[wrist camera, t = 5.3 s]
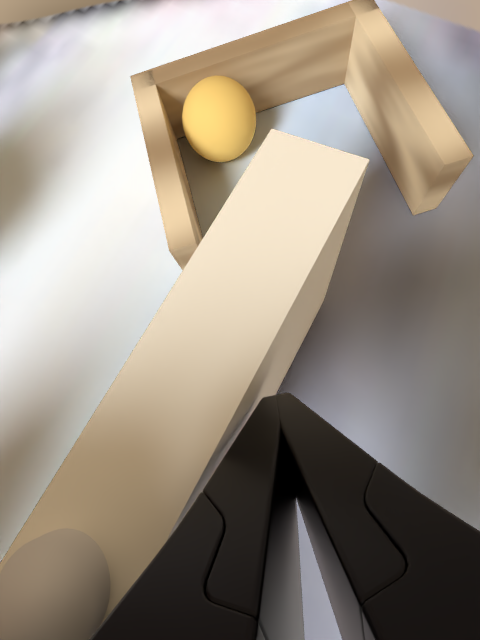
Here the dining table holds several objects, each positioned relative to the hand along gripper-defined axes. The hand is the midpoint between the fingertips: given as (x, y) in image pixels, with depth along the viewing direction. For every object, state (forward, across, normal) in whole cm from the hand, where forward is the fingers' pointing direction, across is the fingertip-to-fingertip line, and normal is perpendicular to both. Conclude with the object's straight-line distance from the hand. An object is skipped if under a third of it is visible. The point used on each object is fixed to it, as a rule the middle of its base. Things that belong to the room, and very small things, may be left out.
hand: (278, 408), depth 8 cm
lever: (+5, -1, -4) cm, 7 cm away
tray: (+14, +3, +5) cm, 15 cm away
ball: (+14, 0, +8) cm, 16 cm away
